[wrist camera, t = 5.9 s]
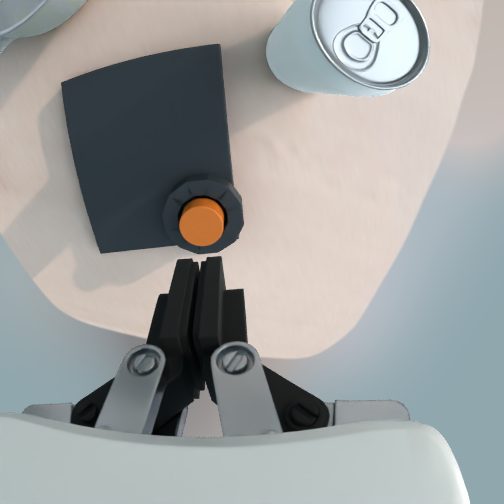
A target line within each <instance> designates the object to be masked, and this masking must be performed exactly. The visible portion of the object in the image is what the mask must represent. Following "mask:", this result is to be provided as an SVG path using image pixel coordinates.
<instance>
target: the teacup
mask: <svg viewBox="0 0 504 504" xmlns="http://www.w3.org/2000/svg"><path fill="white" fill-rule="evenodd" d="M86 1H87V0H0V54H1V53H2V52H3V50H4V49H5V48H6V47H7V46H8V45H9V44H10V43H12V42H13V41H15V40H16V39H17V38H24V37H32V36H37V35H40V34H43V33H46V32H48V31H50V30H52V29H54V28H56V27H58V26H59V25H61V24H62V23H64V22H65V21H67V20H68V19H69V18H70V17H72V16H73V15H74V14H75V13H76V12H77V11H78V10H79V9H80V8H81V7H82V6H83V5H84V4H85V2H86Z"/></svg>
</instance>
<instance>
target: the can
mask: <svg viewBox="0 0 504 504" xmlns="http://www.w3.org/2000/svg"><path fill="white" fill-rule="evenodd" d="M429 52H430V39H429V33H428V29H427V25H426V23H425V20H424V18H423V16H422V14H421V12H420V11H419V9H418V7H417V6H416V5H415V3H414V2H413V1H412V0H295V2H294V3H293V4H292V5H291V7H290V8H289V9H288V10H287V12H286V13H285V14H284V16H283V17H282V18H281V20H280V21H279V23H278V24H277V25H276V27H275V28H274V30H273V31H272V33H271V34H270V36H269V39H268V41H267V46H266V57H267V61H268V64H269V67H270V69H271V70H272V72H273V74H274V75H275V76H276V78H277V79H278V80H280V81H281V82H282V83H284V84H285V85H287V86H289V87H291V88H293V89H296V90H299V91H302V92H309V93H321V94H334V95H346V96H357V97H374V96H381V95H385V94H388V93H391V92H393V91H395V90H397V89H398V88H401V87H404V86H406V85H408V84H410V83H412V82H413V81H414V80H415V79H416V78H417V77H418V76H419V75H420V74H421V73H422V71H423V70H424V68H425V66H426V64H427V61H428V57H429Z"/></svg>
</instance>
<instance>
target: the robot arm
mask: <svg viewBox="0 0 504 504" xmlns="http://www.w3.org/2000/svg"><path fill="white" fill-rule="evenodd" d="M205 381H206V385H207V388H208V390H209V394H210V397H211V400H212V401H213V402H214V403H215V404H217V405H218V410H219V416H220V421H221V426H222V432H223V437H182V433H183V429H184V425H185V421H186V417H187V412H188V407H187V406H188V405H189V404H190V403H192V402H193V401H194V399H199V395H200V391H201V390H204V389H205ZM0 504H470V501H469V497H468V493H467V490H466V487H465V484H464V481H463V478H462V475H461V472H460V469H459V467H458V464H457V462H456V460H455V457H454V455H453V453H452V451H451V449H450V447H449V445H448V444H447V442H446V440H445V439H444V438H443V436H442V435H441V434H440V433H439V432H438V431H437V430H436V429H435V428H433V427H431V426H429V425H426V424H424V423H419V422H415V421H410V415H409V412H408V410H407V408H406V407H405V406H404V404H402V403H400V402H398V401H394V400H373V401H372V400H370V401H346V400H342V401H341V400H335V403H325V402H323V401H321V400H320V399H319V398H317V397H315V396H314V395H312V394H310V393H308V392H307V391H305V390H303V389H301V388H300V387H298V386H296V385H295V384H293V383H291V382H290V381H288V380H286V379H285V378H283V377H282V376H280V375H278V374H277V373H275V372H273V371H272V370H270V369H269V368H267V367H266V366H264V365H262V363H261V360H260V357H259V354H258V352H257V350H256V349H255V348H254V347H253V346H252V345H250V344H248V340H247V326H246V313H245V301H244V290H243V289H233V290H226V287H225V279H224V272H223V264H222V258H221V256H217V257H207V259H206V261H202V262H201V268H200V270H199V265H198V262H193V260H192V258H191V259H178V260H177V263H176V267H175V271H174V274H173V278H172V282H171V286H170V291H169V294H160V295H159V297H158V300H157V304H156V308H155V311H154V315H153V319H152V323H151V327H150V331H149V335H148V339H147V343H146V344H143V345H140V346H137V347H135V348H133V349H131V350H130V351H129V352H128V353H127V354H126V356H125V357H124V359H123V361H122V363H121V365H120V368H119V370H118V372H117V374H116V377H115V378H113V379H111V380H110V381H108V382H107V383H105V384H104V385H102V386H101V387H100V388H98V389H97V390H95V391H94V392H92V393H91V394H89V395H88V396H86V397H85V398H83V399H82V400H80V401H79V402H78V403H77V404H76V405H73V404H72V403H59V404H39V405H30V406H28V407H27V408H26V409H25V410H24V411H23V412H22V413H12V412H11V413H10V412H8V413H0Z"/></svg>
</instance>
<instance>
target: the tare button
mask: <svg viewBox="0 0 504 504" xmlns="http://www.w3.org/2000/svg"><path fill="white" fill-rule="evenodd" d="M223 228H224V214H223V210H222V208H221V207H220V206H219V205H218V204H217V203H216V202H215V201H213V200H211V199H208V198H197V199H194V200H192V201H191V202H189V203H188V204H187V205H186V206H185V208H184V210H183V213H182V216H181V218H180V222H179V229H180V232H181V234H182V236H183V237H184V239H185V240H186V241H188V242H189V243H191V244H193V245H196V246H208V245H211V244H213V243H215V242H216V241H217V240H218V239H219V238H220V237H221V235H222V233H223Z"/></svg>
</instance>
